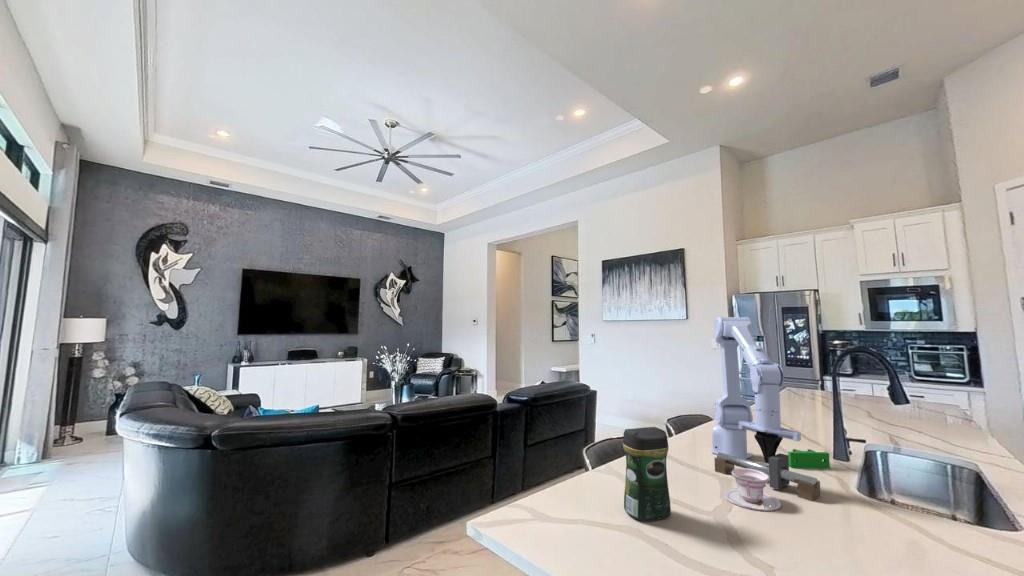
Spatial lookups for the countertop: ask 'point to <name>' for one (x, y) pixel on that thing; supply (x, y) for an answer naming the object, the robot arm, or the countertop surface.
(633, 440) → the coffee jar
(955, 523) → the countertop surface
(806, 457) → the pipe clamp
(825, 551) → the countertop surface
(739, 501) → the teacup
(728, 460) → the pipe rig
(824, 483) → the countertop surface
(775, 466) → the collar
